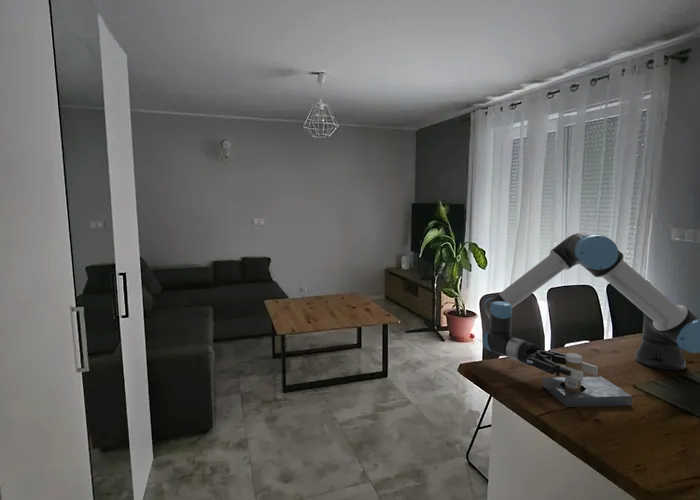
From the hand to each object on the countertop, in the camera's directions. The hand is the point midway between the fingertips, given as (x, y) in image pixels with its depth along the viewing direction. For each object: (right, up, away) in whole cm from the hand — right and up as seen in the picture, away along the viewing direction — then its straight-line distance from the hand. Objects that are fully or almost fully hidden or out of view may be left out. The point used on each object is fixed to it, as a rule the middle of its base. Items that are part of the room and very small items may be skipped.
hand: (589, 373), depth 120 cm
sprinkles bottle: (-3, -9, +5) cm, 10 cm away
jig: (+2, -9, +5) cm, 10 cm away
